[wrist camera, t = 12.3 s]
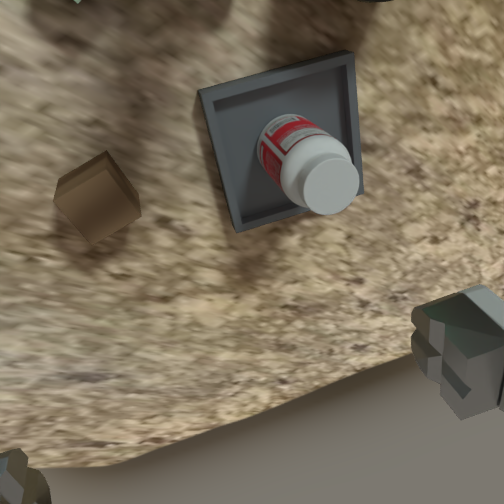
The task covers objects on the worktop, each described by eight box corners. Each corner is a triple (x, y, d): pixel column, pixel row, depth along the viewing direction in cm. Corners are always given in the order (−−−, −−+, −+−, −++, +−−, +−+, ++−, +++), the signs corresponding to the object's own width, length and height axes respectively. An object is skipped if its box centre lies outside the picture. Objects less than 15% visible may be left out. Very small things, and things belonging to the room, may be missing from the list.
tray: (197, 90, 40) (201, 94, 39) (345, 49, 42) (354, 52, 41) (232, 225, 48) (236, 233, 47) (356, 187, 50) (364, 193, 48)
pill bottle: (296, 183, 47) (341, 234, 38) (244, 161, 44) (279, 209, 35) (327, 128, 45) (383, 167, 36) (275, 100, 42) (321, 135, 33)
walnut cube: (58, 178, 41) (53, 201, 37) (106, 150, 41) (106, 169, 37) (93, 220, 44) (91, 245, 40) (138, 193, 44) (141, 216, 40)
